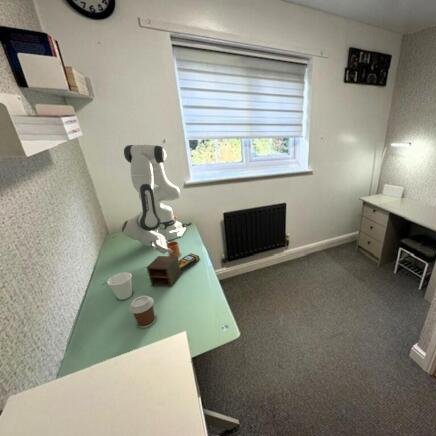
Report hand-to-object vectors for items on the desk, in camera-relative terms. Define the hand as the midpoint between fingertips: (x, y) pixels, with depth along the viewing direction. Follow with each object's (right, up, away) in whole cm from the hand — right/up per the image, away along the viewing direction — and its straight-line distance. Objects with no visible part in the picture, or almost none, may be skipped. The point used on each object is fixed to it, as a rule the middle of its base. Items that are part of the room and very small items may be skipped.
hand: (171, 248), depth 152 cm
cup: (-8, -21, -31) cm, 38 cm away
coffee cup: (+13, -27, -46) cm, 55 cm away
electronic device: (+12, -10, -6) cm, 16 cm away
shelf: (+7, -15, -19) cm, 26 cm away
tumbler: (+1, -5, +3) cm, 6 cm away
